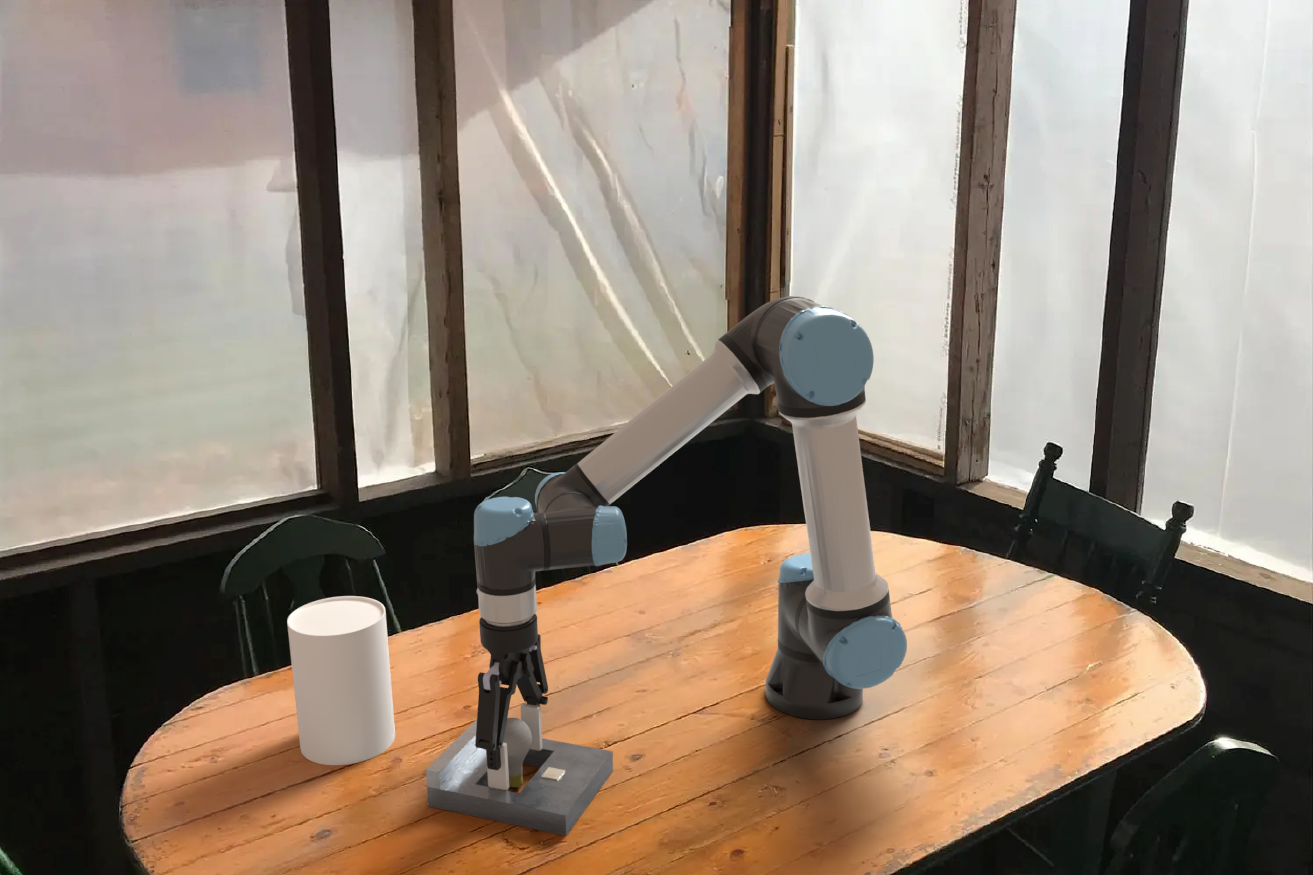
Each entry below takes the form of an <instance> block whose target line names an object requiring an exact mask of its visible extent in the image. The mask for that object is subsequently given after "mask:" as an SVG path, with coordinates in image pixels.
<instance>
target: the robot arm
mask: <svg viewBox="0 0 1313 875" xmlns="http://www.w3.org/2000/svg"><path fill="white" fill-rule="evenodd" d="M712 352H713V353H711V354H709V355H708V357H706V358H705V359H704V360H702V361H701V362H700V363H699V364H698V365H697V366H695V367H694V368H693V369H691V370H690V371H689V372H688V373H686V374H685V375H684V376H683V377H682V378H681V379H679V380H678V381H677V382H675V384H673V385H672V386H670V387H669V388H667V390H666V391H665V392H663V393H661V395H659V396H658V397H657V398H656V399H654V401H652V402H651V403H650V404H649V405H647V406H646V407H645V408H643V409H642V410H640V412H639V413H637V414H636V415H635V416H633V418H631V419H630V420H629V421H628V422H626V423H624V425H623V426H622V427H621V428H619V429H617V431H616V432H614V433H613V434H612V435H610V436H609V437H608V438H606V439H605V440H604V441H603V442H602V443H601V444H600V445H598V446H597V447H596V448H595V449H593V450H592V451H591V452H590V453H588V454H586V456H584V458H582V459H580V461H579V462H577V463H576V464H574V465H573V466H572V467H571V468H569V469H568V470H567V471H563V472H562V471H561V472H560V471H559V472H554V473H551V474H548V475H547V476H546V477H544V478H543V479H542V480H541V481H540V483H539V484H538V486H536V487H537V488H536V490H535V494H534V503H535V510H536V512H534V510H533V507H532V503H530V501H529V500H527V499H525V498H522V497H518V496H514V497H513V496H512V497H509V496H498V497H493V498H489V499H486V500H484V501H482V502H481V503H479V504H478V505H477V507H476V508H475V510H474V513H473V531H474V532H473V545H474V559H475V560H474V561H475V570H476V585H477V589H476V594H477V598H478V614H479V616H480V618H479V621H478V622H479V624H478V625H479V637H480V639H479V640H480V645H481V646H482V647H483V648H484V649H485V650H486V651H487V652H488V653H489V654H490V661H489V669H488V670H487V672H479V673H478V676H477V686H478V702H477V716H476V719H477V727H476V742H475V746H476V748H481V749H486V757H487V773H488V787H491V788H495V789H500V790H505V791H508V790H509V788H510V786H509V772H508V755H507V743H503V740H504V734H505V728H506V723H507V718H509V717H508V716H509V710H510V705H511V698H512V695H515V693H516V690H517V689H518V691H519V693H520V694H521V697H522V700H523V701H524V703H521V705H520V718H521V719H520V720H522V721H524V722H525V723H526V724H527V725H528V727H529V729H530V731H531V736H532V741H531V746H530V749H533V750H539V751H541V749H542V748H543V746H542V738H543V728H542V708H541V705H542V706H546V705H547V704H548V701H549V698H548V696H543V695H546V694H547V693H548V691H549V685H548V681H547V680H548V679H547V676H546V675H547V673H546V670H545V664H544V659H543V655H542V649H541V648H542V645H541V641H542V640H541V639H542V638H541V634H539V631H538V628H539V627H538V616H537V614H536V613H537V611H538V604H537V602H538V601H537V588H536V587H537V586H536V572H540V571H550V570H551V571H552V570H560V569H561V570H562V569H570V568H571V569H573V568H582V567H583V568H584V567H592V566H595V567H600V566H603V565H608V564H615V563H618V562H620V561H621V562H622V560H623V559H624V558H625V556H626V554H627V546H628V540H627V539H628V537H627V536H628V535H627V526H626V522H625V518H624V515H623V512H622V510H621V509H620V508H619V507H617V506H615V505H614V506H610V505H611V504H612V503H614V502H615V501H616V500H617V499H619V498H620V497H621V496H622V495H623V494H625V493H626V492H627V491H628V490H630V489H632V488H633V487H634V486H635V484H637V483H638V482H640V480H642V479H643V478H645V477H646V476H647V475H649V474H650V473H651V472H652V471H653V470H655V469H656V468H657V467H659V466H660V464H662V463H663V462H664V461H666V460H667V459H668V458H669V457H670V456H672V455H673V454H674V453H675V452H677V451H678V450H679V449H681V448H682V447H683V446H684V445H686V444H687V443H688V442H689V441H691V439H693V438H694V437H695V436H697V435H698V434H700V432H702V431H703V430H705V428H707V427H708V426H709V425H710V424H711V423H713V422H714V421H715V420H717V419H718V418H719V417H720V416H722V415H723V414H724V413H725V412H727V410H729V409H730V408H731V407H732V406H734V405H735V404H736V403H738V402H739V401H740V400H741V399H743V398H744V397H745V396H747V395H749V394H750V395H751V394H752V395H759V394H760V393H762V392H763V391H764V390H765V389H766V388H768V387H770V386H771V385H773V384H774V389H775V394H776V402H777V408H778V413H779V415H780V416H781V417H783V418H784V419H785V420H787V421H789V422H790V423H791V425H792V426H791V427H792V428H791V429H792V434H793V440H794V441H793V442H794V447H795V448H794V449H795V454H796V462H797V468H798V477H799V483H800V490H801V496H802V498H801V499H802V505H803V512H804V518H805V519H804V520H805V525H806V533H807V540H808V547H809V553H802V554H796V555H793V556H791V557H789V558H786V559H785V560H784V561H783V562H782V563H781V565H780V566H779V573H778V574H779V575H778V576H779V577H778V580H777V583H778V597H777V598H778V599H777V600H778V603H777V604H778V606H777V607H778V608H777V609H778V610H777V612H778V613H777V649H776V652H775V655H774V657H773V660H772V662H771V665H770V668H769V671H768V673H767V674H766V675H767V676H766V680H765V698H766V700H767V701H768V703H769V704H770V705H771V706H772V707H774V708H775V709H777V710H778V711H779V712H782V713H784V714H787V715H790V716H792V717H793V716H794V717H797V718H801V719H807V720H809V719H810V720H829V719H830V720H831V719H837V718H841V717H845V716H847V715H851V714H852V713H853V712H855V711H856V710H858V709H859V708H860V707H861V705H862V703H863V698H864V696H863V695H864V693H863V692H864V689H869V688H870V689H871V688H873V687H876V686H878V685H880V684H882V683H884V682H886V681H887V680H889V679H891V677H892V676H893V675H894V674H895V672H896V670H897V669H900V667H901V666H902V664H903V662H904V660H905V658H906V655H907V651H908V640H907V636H906V633H905V631H904V630H903V627H902V625H901V623H900V622H899V621H898V620H896V619H894V617H893V613H892V612H893V611H892V605H891V597H890V590H889V584H888V583H889V582H888V581H887V580H886V579H885V578H884V577H882V575H880V574H878V573H876V566H875V557H874V551H873V550H874V549H873V543H872V542H873V541H872V534H871V526H870V519H869V510H868V501H867V492H866V486H865V477H864V471H863V470H864V468H863V462H862V454H861V444H860V438H859V429H858V420H857V414H858V413H859V411H860V410H861V409H862V408H863V407H864V406H865V404H866V401H867V397H866V389H865V387H866V384H867V382H868V381H869V380H870V379H871V376H872V373H873V368H874V362H875V360H874V349H873V345H872V343H871V340H870V338H869V336H868V333H867V332H866V331H865V329H864V328H863V327H862V326H861V324H860V323H858V322H857V321H856V320H855V319H853V318H852V317H851V316H850V315H848V314H847V313H846V312H844V311H842V310H839V309H837V308H834V307H831V306H826V305H822V304H821V303H818V302H815V301H814V300H812V299H810V298H806V297H804V296H796V295H794V296H793V295H788V296H783V297H778V298H775V299H773V300H771V301H768V302H766V303H764V304H763V305H761V306H759V307H758V308H757V309H755V310H754V311H752V312H751V313H749V315H748V314H747V316H745V317H744V318H743V319H742V320H741V321H739V322H738V323H737V324H736V325H734V326H733V327H732V328H731V329H730V330H729V329H728V331H726V332H725V333H724V334H723V335H722V336H720V337H719V338H718V339H717V340H716V341H715V343H714V350H713V351H712ZM501 685H504V687H503V686H501ZM505 686H507V687H505ZM525 702H526V703H525Z"/></svg>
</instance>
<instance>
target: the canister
mask: <svg viewBox="0 0 1313 875" xmlns="http://www.w3.org/2000/svg"><path fill="white" fill-rule="evenodd" d="M286 620H287V621H286V623H287V632H288V642H289V643H288V644H289V651H290V652H289V653H290V662H291V670H292V681H293V690H294V700H295V709H296V710H295V711H296V720H297V729H298V738H299V739H298V740H299V748H300V752H301V754H302V756H304V758H305V759H307V760H308V761H311V762H313V763H316V764H319V765H326V766H345V765H352V764H357V763H361V762H364V761H368V760H370V759H373V758H375V757H377V756H379V755H381V754H382V753H384V752H385V751H386V750H388V749H389V747H391V746H392V744H393V743H394V741H395V738H396V729H395V716H394V714H395V713H394V702H393V691H392V690H393V689H392V676H391V665H390V664H391V662H390V654H389V653H390V651H389V650H390V649H389V641H388V640H389V639H388V627H387V626H388V625H387V613H386V607H385V606H384V604H383V603H382V602H380V601H379V600H376V599H374V598H370V597H366V596H356V595H343V596H342V595H341V596H332V597H327V598H322V599H318V600H315V601H311V602H308V603H307V604H304V605H302V606H299V607H298V608H297V609H295V610H294V611H292V612H291V613H290V614H289V615H288V617H287V619H286Z"/></svg>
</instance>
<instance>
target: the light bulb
mask: <svg viewBox="0 0 1313 875" xmlns="http://www.w3.org/2000/svg"><path fill="white" fill-rule="evenodd" d="M531 741H532V736H531V731H530V729H529V727H528V725H527V724H526V723H525V722H524V721H522V720H521V719H520V718H517V717H507V723H506V728H505V734H504V740H503V743H507V755H508V772H509V788H510V787H511V788H514V789H516V788H519V787H521V786H522V785H523V783H524V779H523V771H524V770H523V768H524V767H523V765H524V764H523V761H524V758H525V756H526V754H527V753H528V751H529V749H530V746H531Z"/></svg>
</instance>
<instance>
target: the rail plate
mask: <svg viewBox="0 0 1313 875" xmlns="http://www.w3.org/2000/svg"><path fill="white" fill-rule="evenodd" d="M476 727H477V718H476V719H475V720H474V721H473V722H472V723H471V724H470V725H469V726H468V727H467V728H466V729H465V730H464V731H463V732H462V733H461V734H460V735H459V736H458V737H457V738H456V739H455V740H454V741H453V742H452V743H451V744H450V745H449V746H447V748H446V749H445V750H444V751H443V752H442V753H441V754H440V755H439V756H438V757H437V758H436V759H435V760H434V761H433V762H432V763H431V764H430V765H429V766H428V767H426V769H425V776H426V790H427V792H426V793H427V801H428V802H427V804H428V807H430V808H435V809H439V810H442V811H443V810H444V811H448V812H449V811H450V812H453V813H457V814H463V815H466V816H472V817H477V818H479V819H480V818H481V819H484V820H485V819H486V820H490V821H495V822H499V823H504V824H509V825H515V826H518V827H523V828H527V829H533V830H538V831H542V832H547V833H551V834H556V835H561V836H565V837H566V836H568V835H569V833H570V832H571V830H572V829H573V827H574V826H575V825H576V824H577V822H578V820H579V819H580V818H581V816H582V814H584V812H585V810H586V809H587V808H588V806H589V805H590V804H591V802H592V801H593V800H594V798H595V796H596V795H597V794H598V792H599V791H600V789H601V788H602V787H603V786H604V784H605V782H606V781H607V780H608V778H609V777H610V775H611V774H612V773H613V772H614V756H613V755H614V754H613V753H614V752H613V751H612V750H608V749H602V748H596V747H591V746H585V745H581V744H575V743H569V742H564V741H557V740H553V739H547V738H543V737H542V746H543V748H542V749H541V751H539V750H533V749H529V751H528V753H527V754H526V756H525V758H524V761H523V764H522V765H528V766H533V767H538V768H539V769H538V770H537V771H536V773H535V774H533V776H532V777H531V778H530V780H529V781H528V782H527V783H526V784H525V786H523V788H522V789H521V790H520V791H519V792H514V791H510V790H503V789H498V788H493V787H488V773H487V757H486V749H481V748H476V746H475V742H476Z"/></svg>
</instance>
